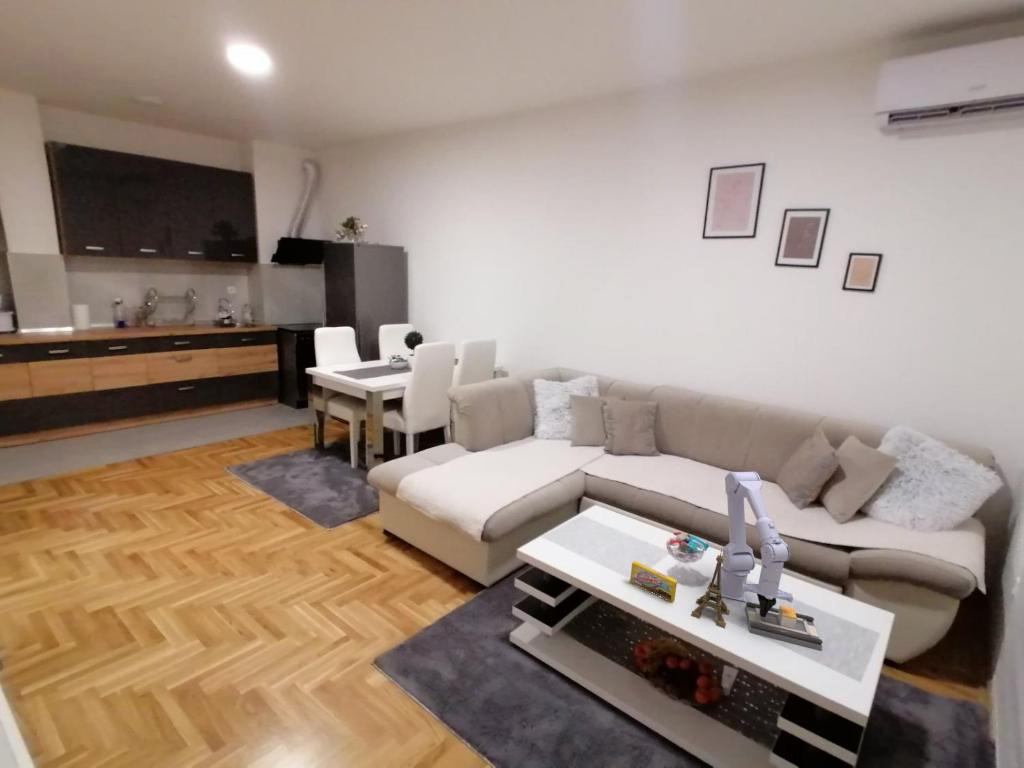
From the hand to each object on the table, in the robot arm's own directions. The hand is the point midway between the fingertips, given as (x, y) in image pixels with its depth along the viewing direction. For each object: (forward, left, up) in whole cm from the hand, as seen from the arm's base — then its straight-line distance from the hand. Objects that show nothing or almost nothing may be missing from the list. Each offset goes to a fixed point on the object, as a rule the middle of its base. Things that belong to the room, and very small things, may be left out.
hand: (762, 615), depth 165 cm
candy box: (-35, +3, -3) cm, 35 cm away
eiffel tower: (-16, -1, -3) cm, 16 cm away
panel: (+6, 0, -3) cm, 7 cm away
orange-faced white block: (+7, 0, -1) cm, 7 cm away
